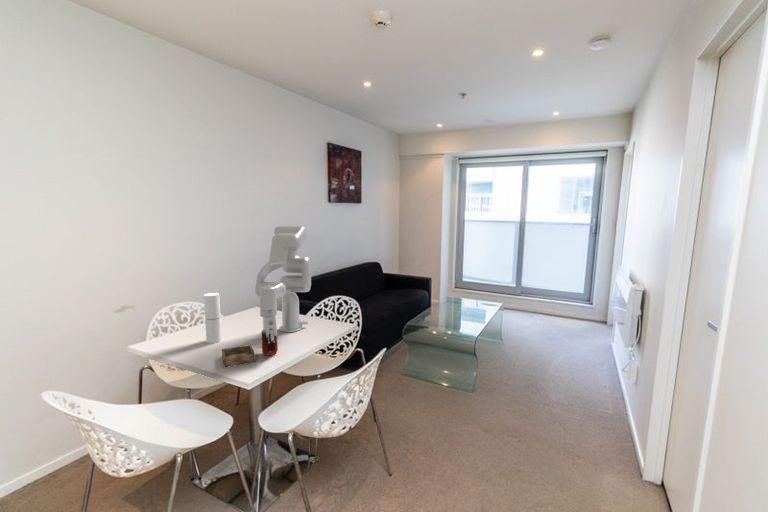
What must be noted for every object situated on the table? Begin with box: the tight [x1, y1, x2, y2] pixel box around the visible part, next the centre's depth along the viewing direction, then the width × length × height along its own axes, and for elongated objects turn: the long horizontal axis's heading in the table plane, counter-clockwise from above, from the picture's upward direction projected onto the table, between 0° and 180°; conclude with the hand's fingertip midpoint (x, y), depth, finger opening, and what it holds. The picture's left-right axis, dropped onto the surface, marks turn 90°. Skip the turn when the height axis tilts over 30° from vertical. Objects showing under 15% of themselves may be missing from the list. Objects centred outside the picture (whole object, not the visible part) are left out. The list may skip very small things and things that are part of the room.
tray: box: [221, 344, 256, 368], centre depth 157 cm, size 13×13×4 cm
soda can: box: [261, 329, 279, 357], centre depth 162 cm, size 7×7×12 cm
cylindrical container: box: [203, 292, 223, 344], centre depth 177 cm, size 7×7×25 cm
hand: (269, 347), depth 163 cm, fingers closed on soda can, 7 cm apart
